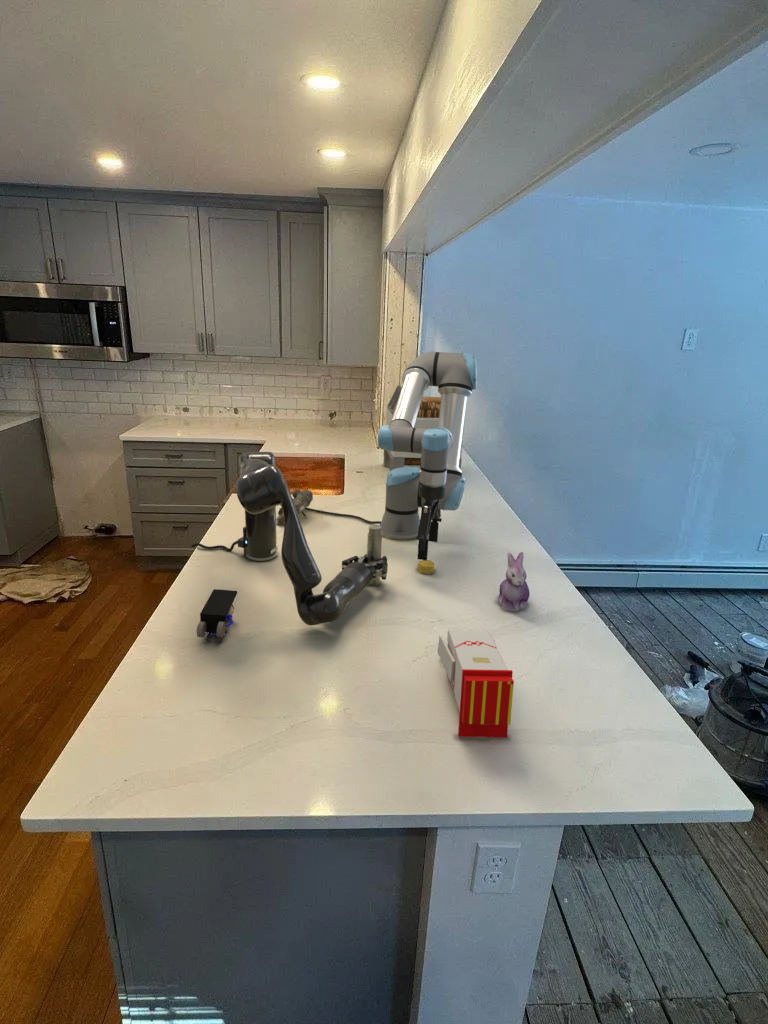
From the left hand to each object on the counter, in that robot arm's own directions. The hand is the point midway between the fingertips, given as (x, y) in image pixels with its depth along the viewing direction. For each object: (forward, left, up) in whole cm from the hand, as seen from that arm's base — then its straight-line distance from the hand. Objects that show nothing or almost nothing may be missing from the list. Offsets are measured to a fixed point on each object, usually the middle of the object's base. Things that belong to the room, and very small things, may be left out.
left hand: (377, 557), depth 164 cm
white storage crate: (-28, +113, -7) cm, 117 cm away
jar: (0, -3, -7) cm, 7 cm away
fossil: (-47, +32, -7) cm, 58 cm away
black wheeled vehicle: (-22, -43, -7) cm, 49 cm away
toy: (+39, -39, -7) cm, 55 cm away
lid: (+11, +12, -5) cm, 17 cm away
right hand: (+11, +13, 0) cm, 17 cm away
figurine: (+40, +3, -7) cm, 40 cm away
